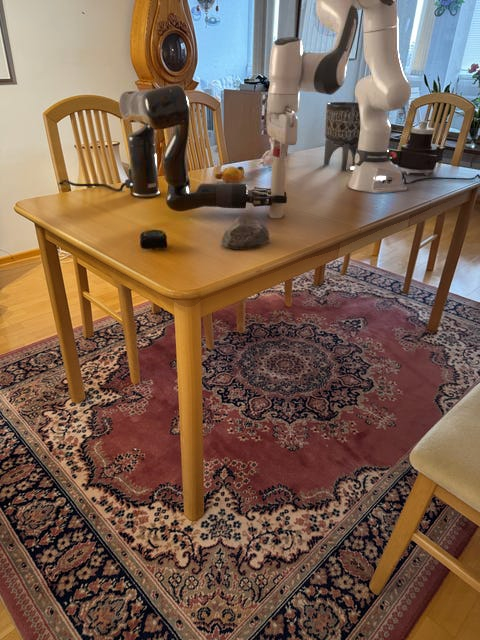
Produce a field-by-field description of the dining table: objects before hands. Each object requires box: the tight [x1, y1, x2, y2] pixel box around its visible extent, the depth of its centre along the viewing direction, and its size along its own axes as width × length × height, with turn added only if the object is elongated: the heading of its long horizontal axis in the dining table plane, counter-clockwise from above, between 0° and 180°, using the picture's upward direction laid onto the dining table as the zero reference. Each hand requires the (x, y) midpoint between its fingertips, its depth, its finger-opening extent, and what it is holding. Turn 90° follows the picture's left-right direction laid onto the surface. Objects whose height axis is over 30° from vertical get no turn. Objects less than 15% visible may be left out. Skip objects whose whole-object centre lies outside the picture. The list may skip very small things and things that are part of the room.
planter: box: [323, 101, 360, 172], centre depth 204 cm, size 20×20×26 cm
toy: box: [214, 165, 246, 183], centre depth 181 cm, size 11×6×15 cm
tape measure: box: [139, 229, 168, 250], centre depth 117 cm, size 7×7×4 cm
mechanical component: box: [388, 120, 446, 176], centre depth 202 cm, size 22×21×30 cm
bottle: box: [269, 157, 287, 219], centre depth 138 cm, size 4×4×20 cm
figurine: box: [258, 136, 275, 169], centre depth 203 cm, size 8×15×13 cm, turn 146°
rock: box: [221, 216, 270, 250], centre depth 119 cm, size 13×9×6 cm, turn 131°
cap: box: [273, 146, 289, 157], centre depth 134 cm, size 4×4×2 cm
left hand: (286, 197), depth 140 cm, fingers closed on bottle, 4 cm apart
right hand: (279, 156), depth 134 cm, fingers closed on cap, 4 cm apart
